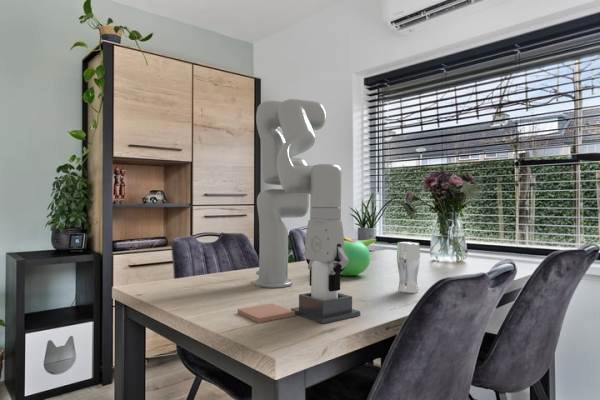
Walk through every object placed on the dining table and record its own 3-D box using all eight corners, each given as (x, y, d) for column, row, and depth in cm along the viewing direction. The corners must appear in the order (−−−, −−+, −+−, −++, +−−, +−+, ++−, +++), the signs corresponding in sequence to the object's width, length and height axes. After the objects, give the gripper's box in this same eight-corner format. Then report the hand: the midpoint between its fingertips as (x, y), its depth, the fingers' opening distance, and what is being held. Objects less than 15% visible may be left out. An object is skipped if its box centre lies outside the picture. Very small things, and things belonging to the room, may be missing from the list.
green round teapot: (315, 274, 157) (315, 235, 157) (344, 269, 169) (344, 233, 169) (351, 281, 144) (352, 239, 144) (380, 275, 155) (381, 236, 156)
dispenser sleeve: (290, 312, 102) (291, 294, 102) (327, 305, 109) (327, 288, 109) (322, 323, 92) (322, 303, 92) (360, 315, 100) (360, 296, 100)
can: (309, 303, 104) (310, 256, 104) (335, 303, 105) (335, 256, 105) (312, 310, 98) (313, 260, 98) (339, 310, 98) (340, 260, 98)
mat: (237, 313, 101) (237, 309, 101) (271, 307, 107) (271, 303, 107) (259, 322, 93) (259, 318, 93) (294, 315, 99) (294, 311, 99)
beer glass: (420, 294, 124) (421, 244, 124) (396, 293, 125) (397, 243, 125) (418, 289, 130) (419, 242, 131) (396, 288, 132) (396, 241, 132)
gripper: (292, 213, 106) (291, 283, 106) (338, 216, 92) (336, 297, 92) (315, 213, 110) (314, 280, 111) (361, 216, 97) (360, 292, 97)
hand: (324, 287), depth 101 cm, fingers closed on can, 6 cm apart
